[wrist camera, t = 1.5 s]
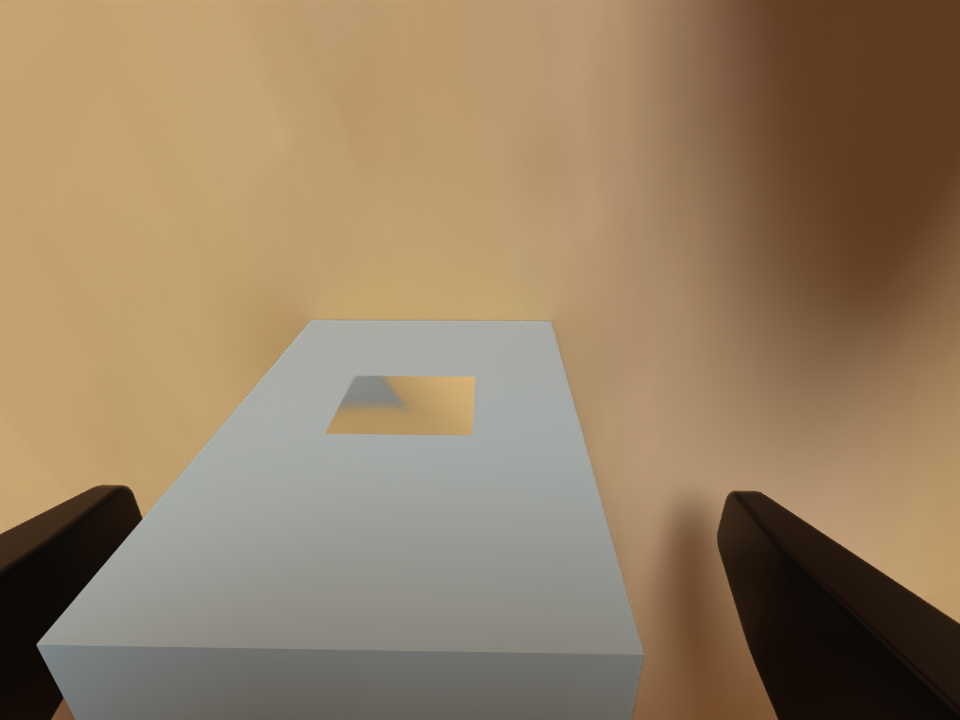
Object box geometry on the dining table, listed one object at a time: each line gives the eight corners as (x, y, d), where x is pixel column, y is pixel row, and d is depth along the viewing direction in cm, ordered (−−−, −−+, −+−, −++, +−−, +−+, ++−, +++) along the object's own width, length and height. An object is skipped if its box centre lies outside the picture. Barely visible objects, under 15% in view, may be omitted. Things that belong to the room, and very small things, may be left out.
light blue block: (551, 320, 9) (643, 654, 3) (527, 732, 14) (550, 1142, 8) (311, 319, 9) (34, 646, 4) (370, 729, 14) (292, 1133, 8)
